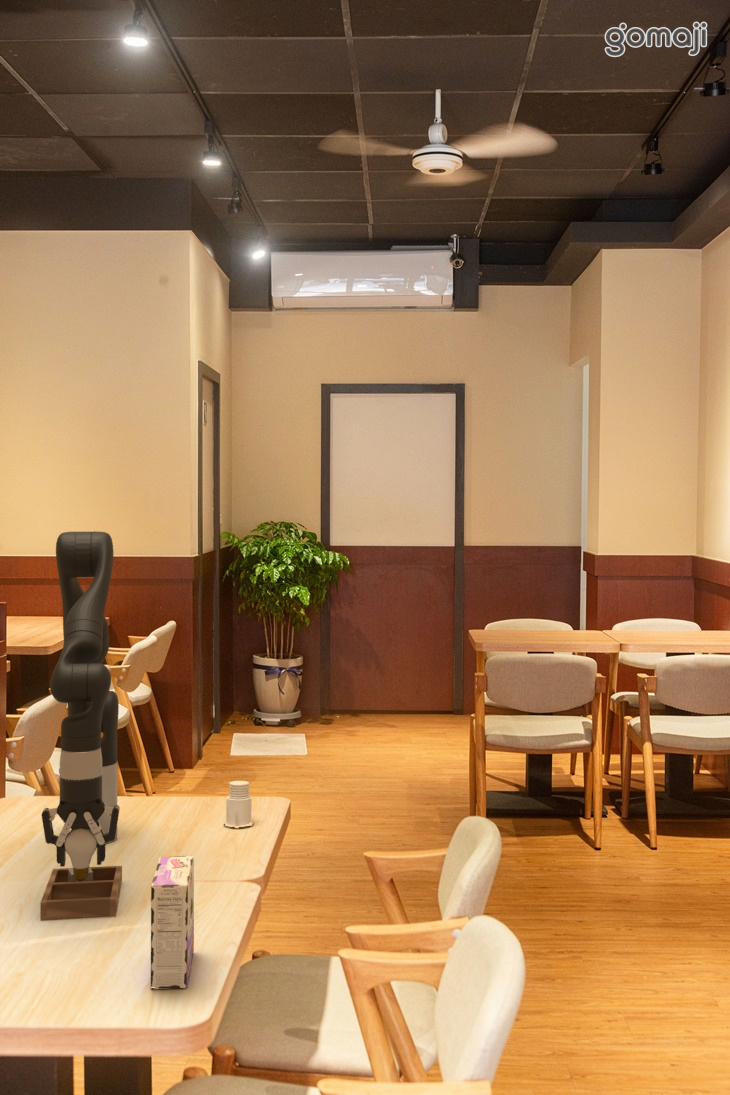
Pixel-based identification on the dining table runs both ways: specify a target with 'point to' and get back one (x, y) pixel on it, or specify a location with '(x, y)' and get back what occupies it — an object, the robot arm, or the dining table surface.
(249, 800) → the downlight
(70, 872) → the grey cube
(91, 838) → the light bulb
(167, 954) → the candy box
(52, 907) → the box
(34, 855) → the dining table surface
